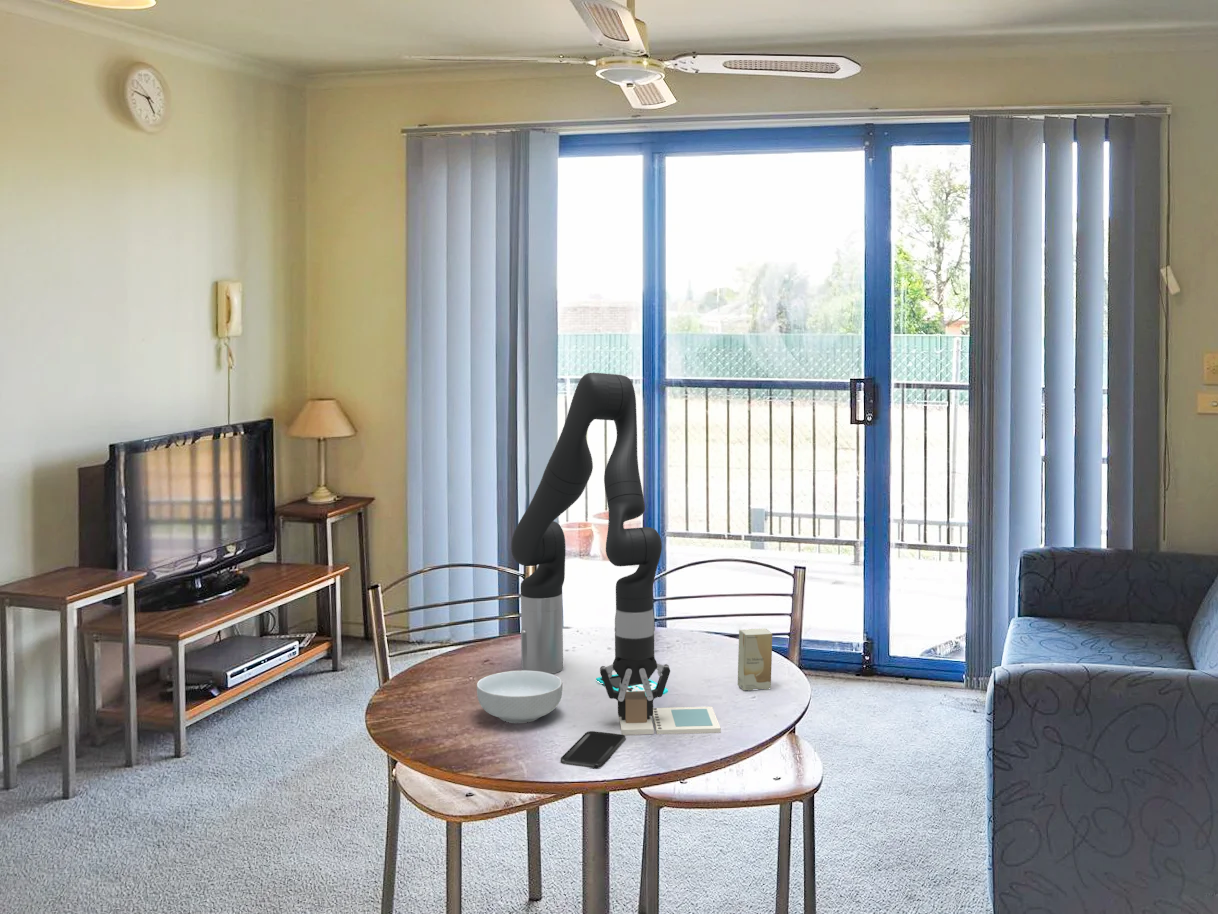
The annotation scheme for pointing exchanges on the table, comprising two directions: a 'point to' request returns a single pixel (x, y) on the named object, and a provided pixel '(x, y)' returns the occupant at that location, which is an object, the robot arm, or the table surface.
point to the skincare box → (754, 659)
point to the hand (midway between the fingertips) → (635, 717)
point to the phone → (593, 749)
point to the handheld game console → (633, 687)
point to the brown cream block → (636, 715)
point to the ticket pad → (685, 720)
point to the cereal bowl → (519, 695)
